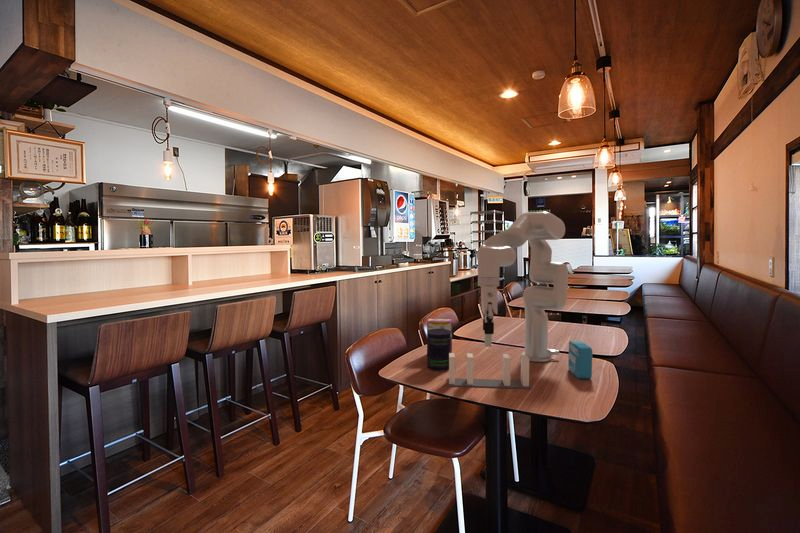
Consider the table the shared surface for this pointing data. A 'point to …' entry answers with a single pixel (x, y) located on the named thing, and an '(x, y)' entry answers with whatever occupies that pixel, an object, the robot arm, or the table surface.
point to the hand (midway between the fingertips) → (488, 331)
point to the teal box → (580, 359)
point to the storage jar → (438, 349)
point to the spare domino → (488, 340)
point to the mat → (488, 383)
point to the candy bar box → (440, 327)
